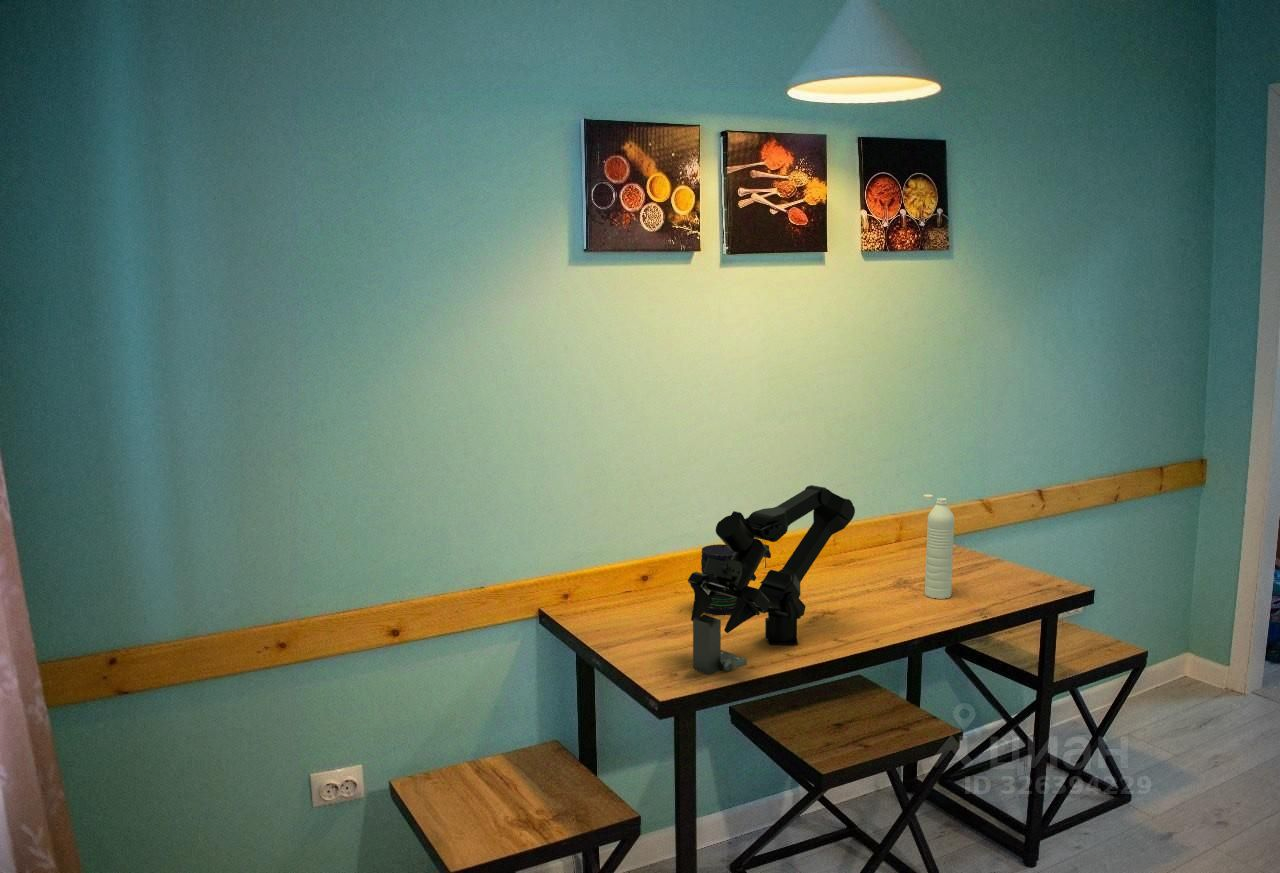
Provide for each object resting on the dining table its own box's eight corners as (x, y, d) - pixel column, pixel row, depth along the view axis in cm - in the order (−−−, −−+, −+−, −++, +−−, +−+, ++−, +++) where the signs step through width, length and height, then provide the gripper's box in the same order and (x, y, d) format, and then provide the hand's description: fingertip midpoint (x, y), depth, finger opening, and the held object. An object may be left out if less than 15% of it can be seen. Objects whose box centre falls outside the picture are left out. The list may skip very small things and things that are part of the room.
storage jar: (739, 617, 256) (739, 556, 253) (698, 614, 258) (698, 554, 255) (743, 604, 265) (744, 545, 263) (704, 601, 267) (704, 543, 265)
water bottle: (956, 596, 270) (961, 498, 266) (939, 601, 266) (943, 502, 262) (929, 587, 277) (933, 492, 273) (912, 592, 273) (915, 496, 269)
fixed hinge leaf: (719, 654, 232) (719, 644, 231) (746, 664, 226) (746, 653, 226) (698, 663, 227) (698, 652, 227) (725, 672, 222) (725, 661, 221)
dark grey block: (704, 664, 226) (704, 614, 224) (720, 670, 223) (720, 619, 221) (693, 669, 224) (693, 618, 222) (709, 675, 220) (709, 623, 219)
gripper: (693, 535, 230) (657, 596, 224) (761, 551, 216) (724, 617, 211) (717, 562, 236) (683, 623, 231) (785, 580, 223) (750, 645, 217)
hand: (709, 626), depth 222 cm, fingers open, 9 cm apart
